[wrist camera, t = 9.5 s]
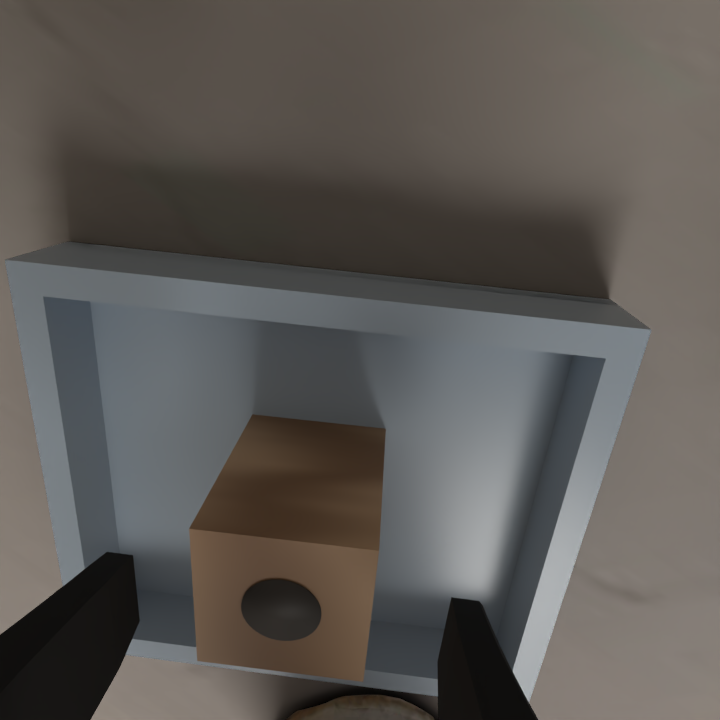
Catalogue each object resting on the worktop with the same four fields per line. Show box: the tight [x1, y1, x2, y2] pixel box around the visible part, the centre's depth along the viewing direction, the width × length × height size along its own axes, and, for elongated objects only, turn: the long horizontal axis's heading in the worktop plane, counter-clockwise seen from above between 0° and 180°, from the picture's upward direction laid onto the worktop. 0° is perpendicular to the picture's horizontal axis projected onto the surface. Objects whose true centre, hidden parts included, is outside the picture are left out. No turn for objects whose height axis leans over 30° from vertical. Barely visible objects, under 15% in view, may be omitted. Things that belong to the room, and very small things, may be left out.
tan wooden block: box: [189, 414, 386, 682], centre depth 14 cm, size 4×4×5 cm
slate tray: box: [5, 242, 651, 702], centre depth 16 cm, size 15×13×2 cm
